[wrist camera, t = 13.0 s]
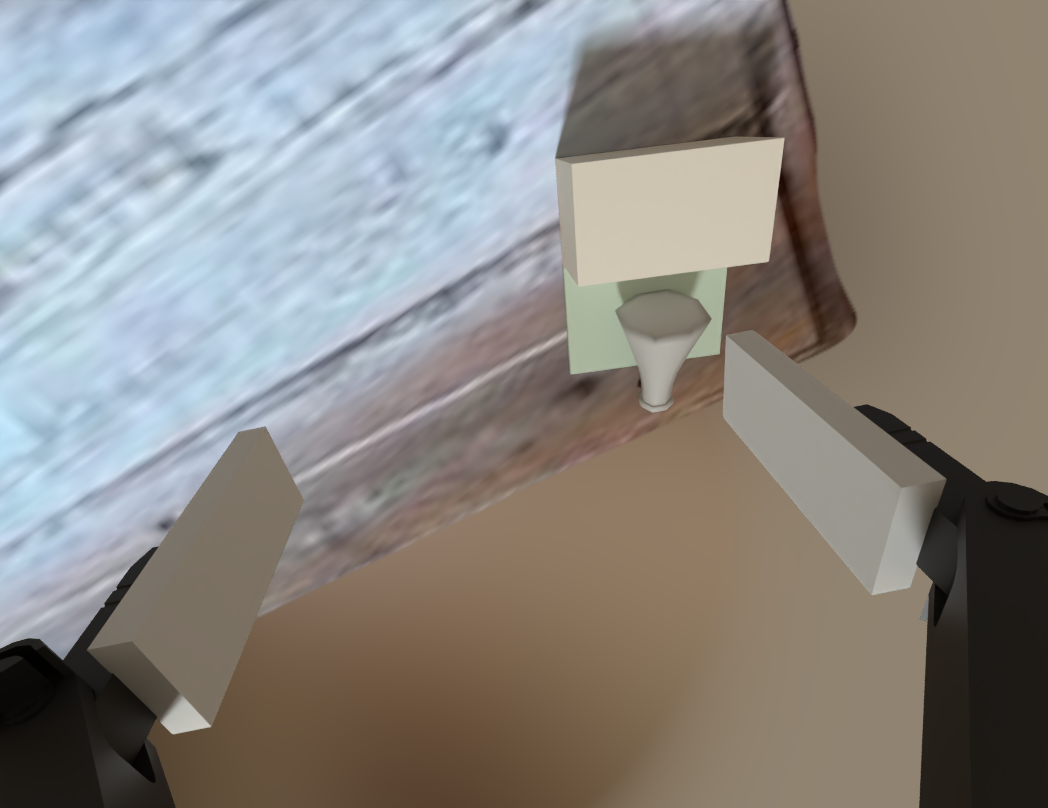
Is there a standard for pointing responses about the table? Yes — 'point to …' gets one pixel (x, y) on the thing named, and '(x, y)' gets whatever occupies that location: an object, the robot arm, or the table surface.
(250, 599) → the robot arm
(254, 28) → the table surface
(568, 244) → the block
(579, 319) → the mat
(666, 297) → the flask
